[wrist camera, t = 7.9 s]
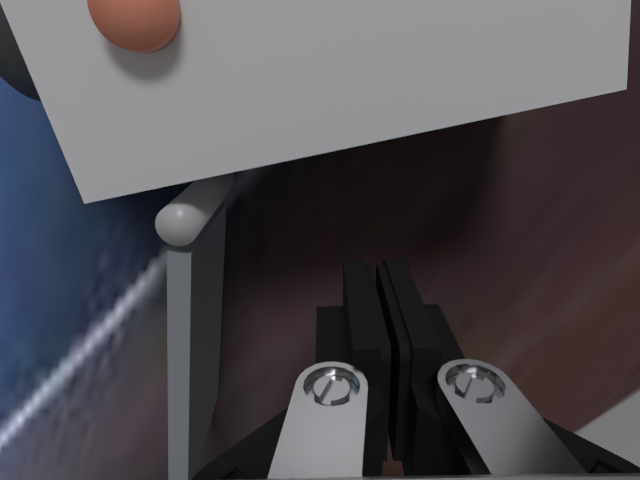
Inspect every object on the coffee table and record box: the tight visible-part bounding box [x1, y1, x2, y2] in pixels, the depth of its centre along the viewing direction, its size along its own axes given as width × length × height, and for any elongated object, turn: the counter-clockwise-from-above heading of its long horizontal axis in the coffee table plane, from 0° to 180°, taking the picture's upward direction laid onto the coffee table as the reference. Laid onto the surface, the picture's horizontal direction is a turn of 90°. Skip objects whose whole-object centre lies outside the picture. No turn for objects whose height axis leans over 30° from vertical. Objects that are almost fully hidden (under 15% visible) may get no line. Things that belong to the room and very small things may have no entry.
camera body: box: [0, 0, 631, 204], centre depth 12 cm, size 16×8×7 cm, turn 102°
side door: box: [155, 173, 234, 480], centre depth 16 cm, size 12×1×6 cm, turn 173°
